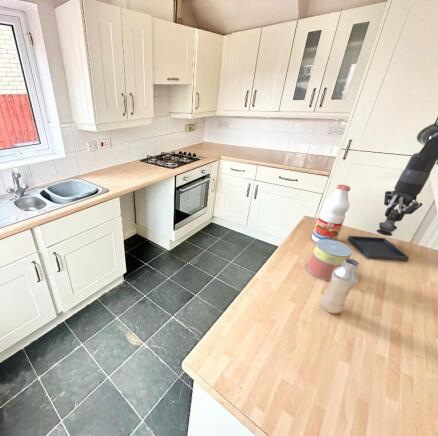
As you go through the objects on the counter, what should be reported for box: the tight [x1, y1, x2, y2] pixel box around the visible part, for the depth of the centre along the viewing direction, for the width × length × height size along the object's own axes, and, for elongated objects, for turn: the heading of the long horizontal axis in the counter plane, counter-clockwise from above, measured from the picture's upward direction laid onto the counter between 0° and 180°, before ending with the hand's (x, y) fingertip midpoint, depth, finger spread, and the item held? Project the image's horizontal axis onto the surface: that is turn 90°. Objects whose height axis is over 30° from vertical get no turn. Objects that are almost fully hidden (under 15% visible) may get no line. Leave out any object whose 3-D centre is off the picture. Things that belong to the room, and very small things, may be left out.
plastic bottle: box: [319, 258, 360, 315], centre depth 77 cm, size 6×7×20 cm
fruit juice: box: [311, 184, 351, 243], centre depth 111 cm, size 9×9×28 cm
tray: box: [347, 235, 410, 262], centre depth 110 cm, size 15×15×2 cm
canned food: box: [307, 239, 353, 281], centre depth 96 cm, size 11×11×12 cm
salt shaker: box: [376, 207, 399, 237], centre depth 103 cm, size 6×6×12 cm
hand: (391, 218), depth 103 cm, fingers closed on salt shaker, 3 cm apart
